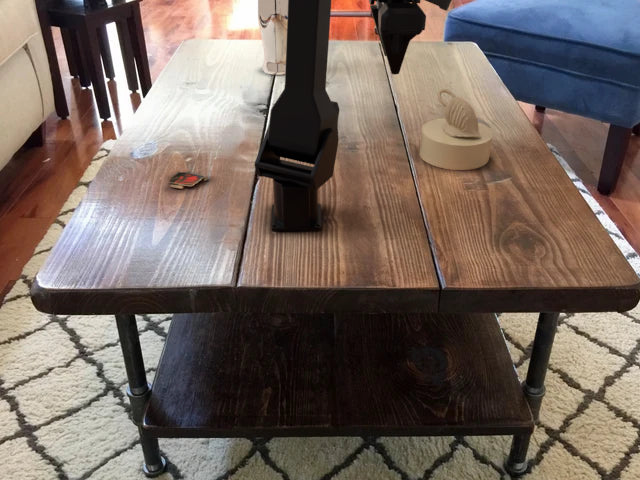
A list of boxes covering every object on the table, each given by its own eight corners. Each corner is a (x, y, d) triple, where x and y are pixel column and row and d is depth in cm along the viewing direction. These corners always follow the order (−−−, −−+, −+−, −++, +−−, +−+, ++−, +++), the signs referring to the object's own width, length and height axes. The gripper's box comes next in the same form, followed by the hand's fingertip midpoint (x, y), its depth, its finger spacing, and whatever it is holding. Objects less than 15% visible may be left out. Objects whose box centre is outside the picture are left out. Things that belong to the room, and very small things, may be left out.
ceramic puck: (496, 170, 98) (501, 145, 95) (425, 170, 97) (427, 145, 95) (480, 141, 106) (483, 117, 104) (414, 141, 106) (416, 117, 104)
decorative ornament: (459, 142, 96) (464, 107, 93) (430, 123, 102) (434, 89, 99) (482, 138, 97) (487, 104, 94) (452, 119, 103) (457, 86, 100)
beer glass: (256, 67, 136) (252, -10, 127) (286, 63, 139) (284, -12, 130) (267, 77, 131) (264, -2, 122) (299, 73, 134) (297, -5, 125)
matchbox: (176, 173, 95) (175, 170, 95) (209, 176, 94) (209, 173, 94) (164, 187, 91) (164, 184, 91) (199, 190, 91) (198, 187, 90)
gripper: (469, -36, 83) (454, 84, 93) (443, -58, 98) (432, 47, 108) (384, -37, 83) (377, 84, 92) (371, -59, 98) (366, 47, 107)
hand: (391, 64), depth 100 cm, fingers open, 9 cm apart
